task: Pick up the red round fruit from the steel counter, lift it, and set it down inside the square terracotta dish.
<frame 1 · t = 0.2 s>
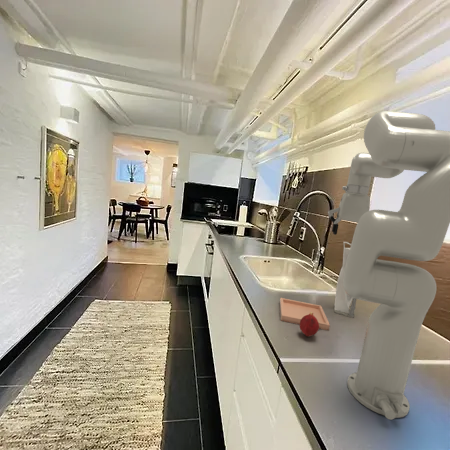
hand: (347, 236, 102), 31 cm above the worktop, tool pointing down, fingers open, 9 cm apart
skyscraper: (341, 311, 109), on the worktop
dish: (301, 315, 99), on the worktop
red round fruit: (307, 336, 85), on the worktop
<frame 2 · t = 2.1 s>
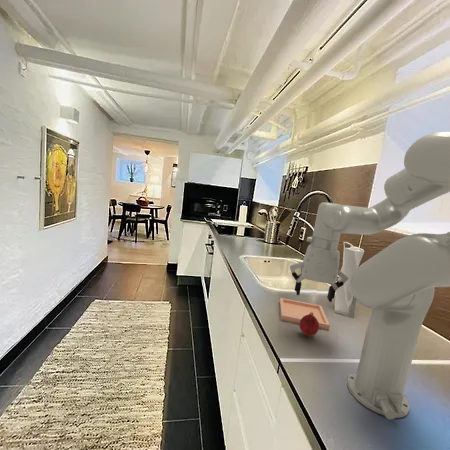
hand: (313, 296, 84), 13 cm above the worktop, tool pointing down, fingers open, 9 cm apart
nothing on the worktop moved.
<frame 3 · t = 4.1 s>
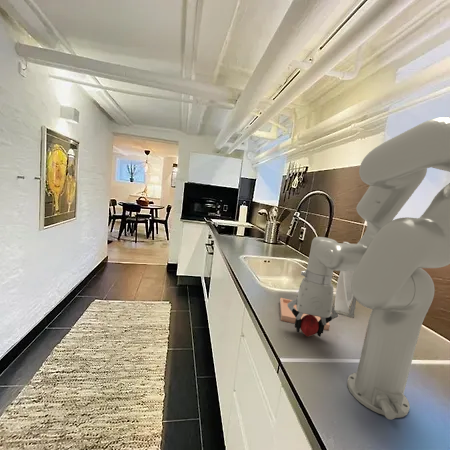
hand: (308, 331, 85), 2 cm above the worktop, tool pointing down, fingers closed on red round fruit, 5 cm apart
red round fruit: (307, 336, 85), on the worktop, touching gripper
everything else where it was.
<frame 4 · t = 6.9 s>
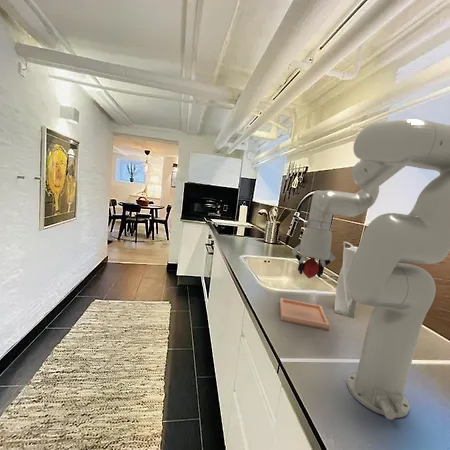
hand: (309, 274, 97), 16 cm above the worktop, tool pointing down, fingers closed on red round fruit, 5 cm apart
red round fruit: (308, 278, 98), point 14 cm above the worktop, touching gripper
everything else where it was.
when the fingers open (4 cm above the worktop, at t = 9.8 s): red round fruit drops 1 cm, resting on dish.
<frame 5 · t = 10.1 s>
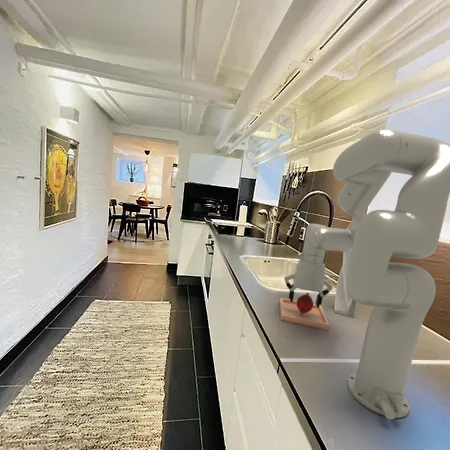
hand: (304, 303, 99), 5 cm above the worktop, tool pointing down, fingers open, 9 cm apart
red round fruit: (302, 313, 99), point 1 cm above the worktop, touching dish
everything else where it was.
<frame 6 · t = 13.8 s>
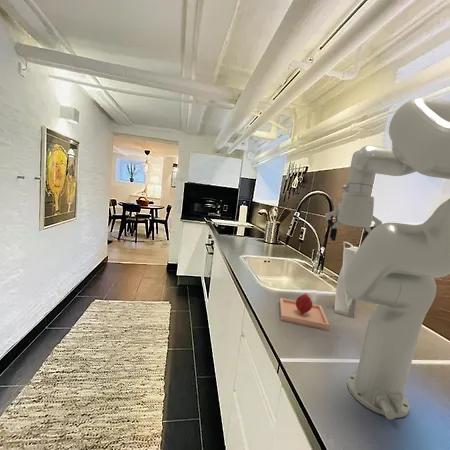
hand: (348, 242, 88), 30 cm above the worktop, tool pointing down, fingers open, 9 cm apart
nothing on the worktop moved.
at the end: red round fruit inside the target area on the dish (0.2 cm from its centre), point 0.6 cm above the dish's base; the gripper is holding nothing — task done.
